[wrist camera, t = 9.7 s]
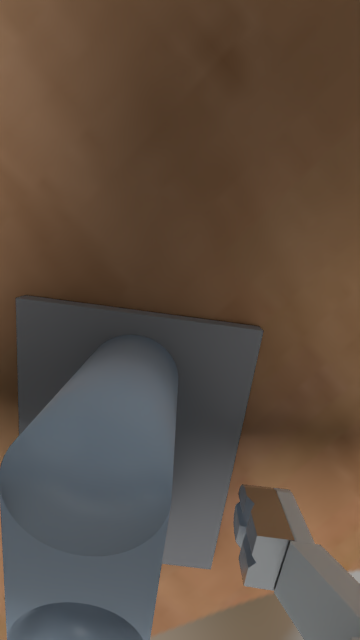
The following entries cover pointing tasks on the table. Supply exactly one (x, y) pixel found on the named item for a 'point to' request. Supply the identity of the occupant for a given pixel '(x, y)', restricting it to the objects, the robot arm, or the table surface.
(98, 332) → the pad
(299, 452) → the table surface
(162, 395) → the blue connector
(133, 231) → the table surface
